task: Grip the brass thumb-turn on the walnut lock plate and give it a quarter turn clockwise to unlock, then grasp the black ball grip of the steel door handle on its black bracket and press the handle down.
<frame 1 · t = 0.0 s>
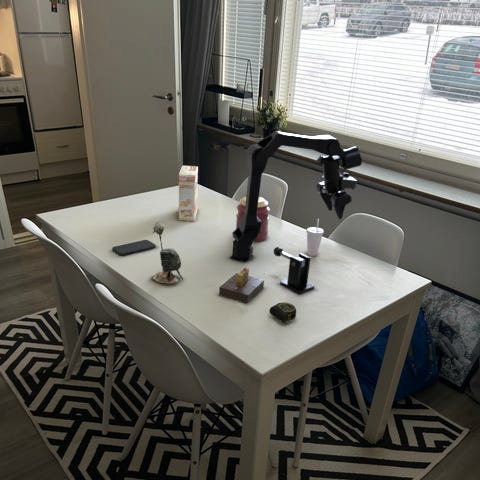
hand: (335, 214, 186), 15 cm above the table, tool pointing down, fingers open, 9 cm apart
tape measure: (282, 319, 150), on the table
smoothie: (311, 254, 193), on the table
thumb turn: (242, 277, 161), point 5 cm above the table, hinge at 0.0°
dried flower vase: (168, 281, 167), on the table
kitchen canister: (251, 236, 205), on the table
coffeecake box: (188, 215, 223), on the table
door handle: (288, 256, 167), point 9 cm above the table, hinge at 0.0°
lock plate: (241, 291, 163), on the table
handle bracket: (296, 286, 168), on the table
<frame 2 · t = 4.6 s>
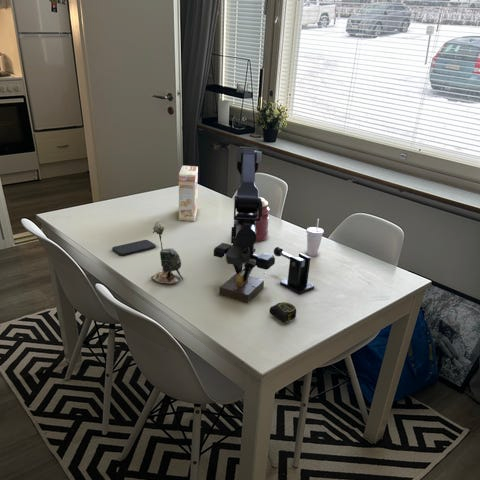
hand: (242, 280, 161), 4 cm above the table, tool pointing down, fingers closed on thumb turn, 2 cm apart
thumb turn: (242, 277, 161), point 5 cm above the table, hinge at 0.0°, touching gripper
everything else where it was.
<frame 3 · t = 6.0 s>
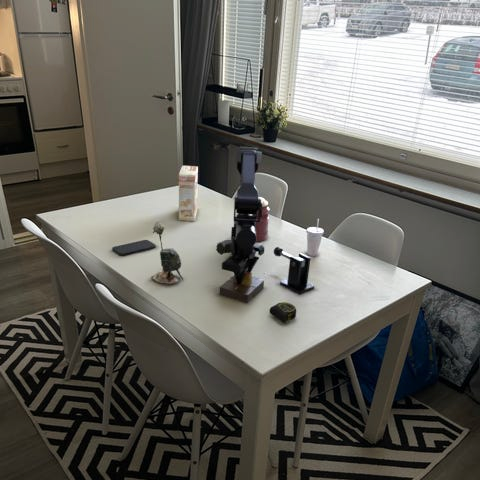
hand: (242, 281, 161), 4 cm above the table, tool pointing down, fingers open, 4 cm apart
thumb turn: (242, 277, 161), point 5 cm above the table, hinge at -89.3°
everything else where it was.
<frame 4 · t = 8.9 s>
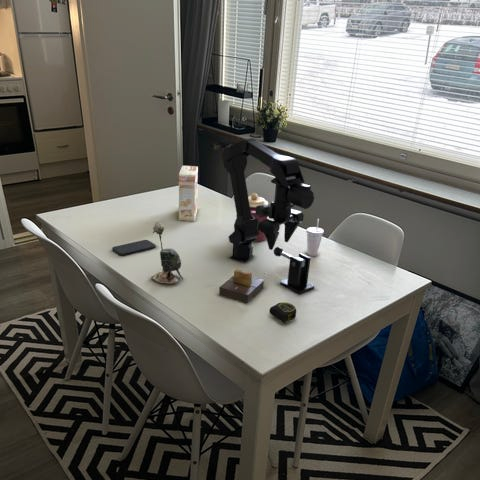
hand: (278, 245, 169), 11 cm above the table, tool pointing down, fingers open, 9 cm apart
nothing on the table moved.
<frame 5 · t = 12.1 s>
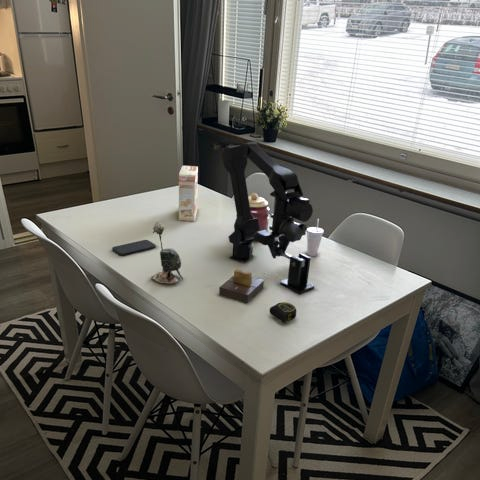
hand: (277, 257, 171), 7 cm above the table, tool pointing down, fingers closed on door handle, 3 cm apart
door handle: (288, 256, 167), point 9 cm above the table, hinge at 0.0°, touching gripper
everything else where it was.
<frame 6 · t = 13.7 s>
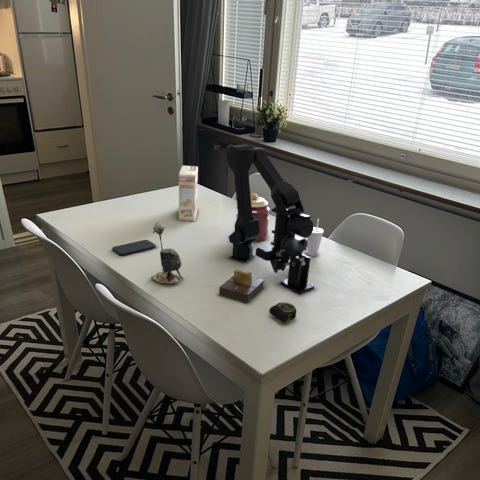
hand: (279, 271, 173), 2 cm above the table, tool pointing down, fingers closed on door handle, 3 cm apart
door handle: (289, 263, 168), point 7 cm above the table, hinge at -27.1°, touching gripper
everything else where it was.
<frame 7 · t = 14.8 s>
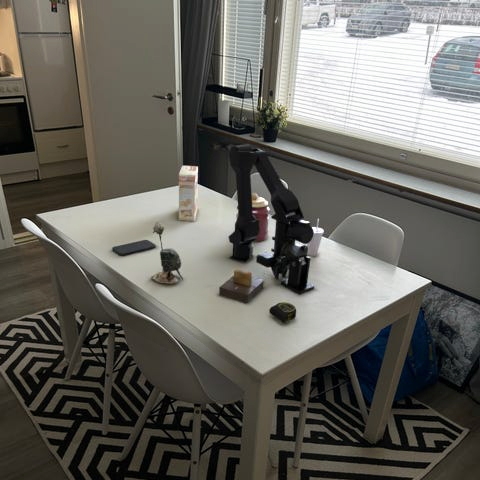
hand: (280, 278, 173), 0 cm above the table, tool pointing down, fingers open, 3 cm apart
door handle: (289, 265, 168), point 6 cm above the table, hinge at -35.5°
everything else where it was.
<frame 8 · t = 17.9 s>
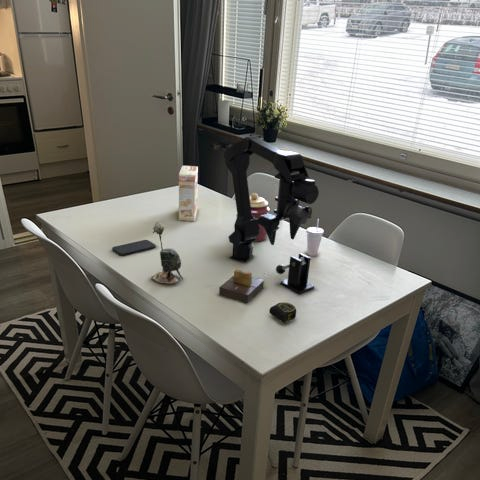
hand: (282, 241, 167), 13 cm above the table, tool pointing down, fingers open, 9 cm apart
nothing on the table moved.
at the end: thumb turn at -89° (first picture: +0°); door handle at -36° (first picture: +0°) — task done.
